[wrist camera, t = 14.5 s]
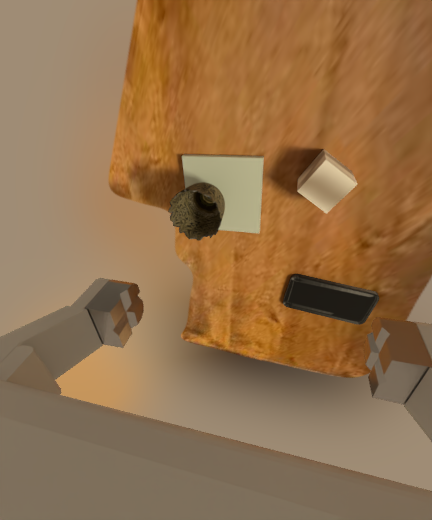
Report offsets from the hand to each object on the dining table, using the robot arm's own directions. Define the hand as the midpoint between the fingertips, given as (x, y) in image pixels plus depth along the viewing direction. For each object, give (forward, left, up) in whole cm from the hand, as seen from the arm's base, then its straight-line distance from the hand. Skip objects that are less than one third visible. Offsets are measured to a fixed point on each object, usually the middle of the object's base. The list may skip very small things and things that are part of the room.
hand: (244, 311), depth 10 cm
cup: (+10, -11, -33) cm, 36 cm away
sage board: (+10, -9, -34) cm, 37 cm away
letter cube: (+6, +6, -34) cm, 35 cm away
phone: (+29, +10, -35) cm, 46 cm away
